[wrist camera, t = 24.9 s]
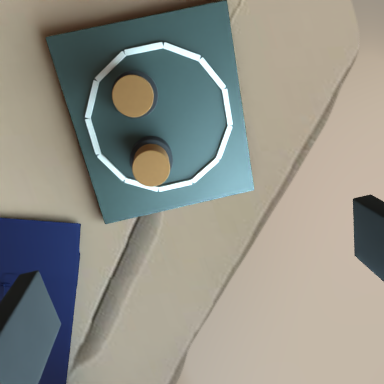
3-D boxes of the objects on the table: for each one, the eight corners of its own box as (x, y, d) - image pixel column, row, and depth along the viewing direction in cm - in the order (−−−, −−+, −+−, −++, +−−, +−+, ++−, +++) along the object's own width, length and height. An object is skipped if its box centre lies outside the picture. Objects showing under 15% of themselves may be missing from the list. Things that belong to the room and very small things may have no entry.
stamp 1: (152, 66, 30) (151, 64, 25) (162, 111, 31) (163, 116, 26) (108, 75, 30) (100, 75, 25) (120, 120, 31) (114, 127, 26)
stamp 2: (166, 131, 32) (169, 140, 27) (175, 170, 33) (179, 185, 28) (126, 140, 32) (121, 151, 27) (136, 179, 33) (133, 196, 28)
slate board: (224, 2, 30) (227, -2, 28) (251, 187, 36) (255, 191, 34) (48, 38, 29) (43, 36, 28) (106, 220, 35) (104, 225, 34)
